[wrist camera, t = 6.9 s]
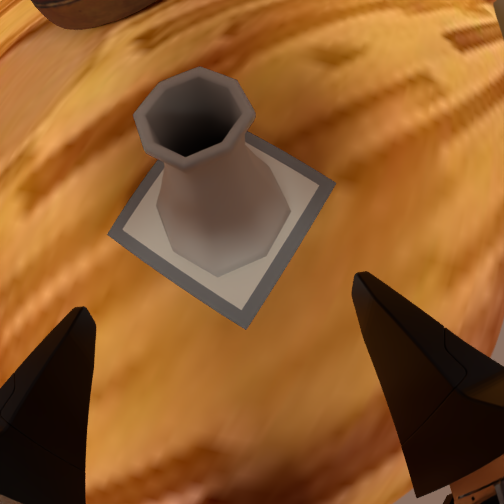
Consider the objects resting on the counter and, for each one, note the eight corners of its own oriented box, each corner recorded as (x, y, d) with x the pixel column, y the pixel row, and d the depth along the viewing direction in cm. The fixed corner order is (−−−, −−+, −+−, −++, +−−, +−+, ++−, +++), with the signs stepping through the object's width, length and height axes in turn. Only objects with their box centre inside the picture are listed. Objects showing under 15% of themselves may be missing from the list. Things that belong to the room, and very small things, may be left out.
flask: (229, 130, 18) (213, 3, 8) (312, 214, 17) (380, 125, 7) (137, 207, 17) (40, 127, 7) (216, 301, 17) (169, 311, 7)
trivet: (326, 195, 20) (337, 182, 18) (246, 325, 19) (246, 330, 16) (204, 125, 21) (199, 106, 18) (122, 241, 20) (105, 234, 17)
